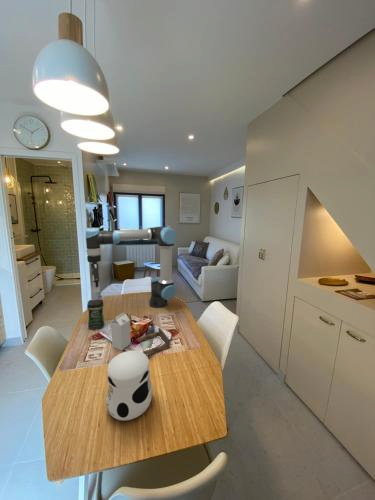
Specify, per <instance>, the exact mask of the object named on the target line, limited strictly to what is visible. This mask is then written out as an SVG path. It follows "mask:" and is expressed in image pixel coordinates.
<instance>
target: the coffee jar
mask: <svg viewBox="0 0 375 500" xmlns="http://www.w3.org/2000/svg"><path fill="white" fill-rule="evenodd" d="M103 308H104V301H103V299H90V300H88V301H87V305H86V309H87V311H88V324H87V326H88V329H89V330H98V329H102V328H103V327H104V326H105V317H104V311H103V310H104V309H103Z"/></svg>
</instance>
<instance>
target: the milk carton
mask: <svg viewBox="0 0 375 500" xmlns="http://www.w3.org/2000/svg"><path fill="white" fill-rule="evenodd" d="M114 317H115V318H114V320H112V321H111V323H110V325H111V344H112V346H111V347H112V348H114V349H116V350H118V351H121V352H122V351H124V350H125V349H126V348H128V347H129V346H130V345H131V343H132V341H131V320H130V318H129V316H127V314H126V312H125V311H124V312H122V313H120V314H119V315H117V316H114ZM128 345H129V346H128ZM125 347H126V348H125ZM124 348H125V349H124Z"/></svg>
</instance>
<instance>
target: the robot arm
mask: <svg viewBox="0 0 375 500" xmlns="http://www.w3.org/2000/svg"><path fill="white" fill-rule="evenodd" d="M177 238H178V236H177V233H176V231H175V229H174V228H172V227H167V226H154V227H147V228H143V229H141V228H139V229H117V230H116V229H115V230H106V229H105V230H101V231H100V230H99V229H94V228H93V229H86V230H85V243H86V244H85V245H86V250H85V252H86V255H87V262H88V263H91V264H90V267H91V274H92V276H91V277H92V286H93V287H94V293H100V291H101V289H100V275H99V274H100V273H99V263H100V262H101V261H102V256H101V253H102V252H101V245H102V246H103V245H104V246H105V245H116V244H119V243H121V242H122V241H124V242H125V241H140V240H148V241H155V242H157V246H158V247H159V251H160V252H159V255H160V256H159V257H160V259H159V262H160V263H159V264H160V265H159V267H160V268H159V269H160V276H155V277H152V278H151V280H150V290H151V291H150V298H149V304H148V305H149V306H150V307H152V308H155V309H156V308H160V309H161V308H165V307H166V306H168V303H169V302H168V300H171V299H173V298H174V297H175V296H176V293H177V288H176V286H175V285H174V284H175V282H174V281H175V280H174V279H173V278H172V276H173V274H172V273H173V271H172V270H173V269H172V268H173V266H172V265H173V263H172V262H173V254H172V253H173V250H172V249H173V247H174V246H175V242H176V241H177Z"/></svg>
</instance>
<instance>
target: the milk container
mask: <svg viewBox="0 0 375 500" xmlns="http://www.w3.org/2000/svg"><path fill="white" fill-rule="evenodd" d="M106 373H107V374H106V375H107V376H106V377H107V391H106V400H105V401H106V407H107V410H108V413H109V414H110V416H111V417H113V418H114V419H116V420H117V421H123V422H124V421H131V420H134V419H136V418H139V417H140V416H141V415H143V414H144V413H145V412H146V411H147V409H148V408H149V406H150V404H151V402H152V398H153V384H152V381H151V377H150V374H151V370H150V360H149V357H148V355H147V356H146V354H144V353H143V351H139V350H126V351H123V352H121V353H119V354H117V355H116V356H114V357H112V359H111V360H110V361H109V362H108V366H107V370H106Z"/></svg>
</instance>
